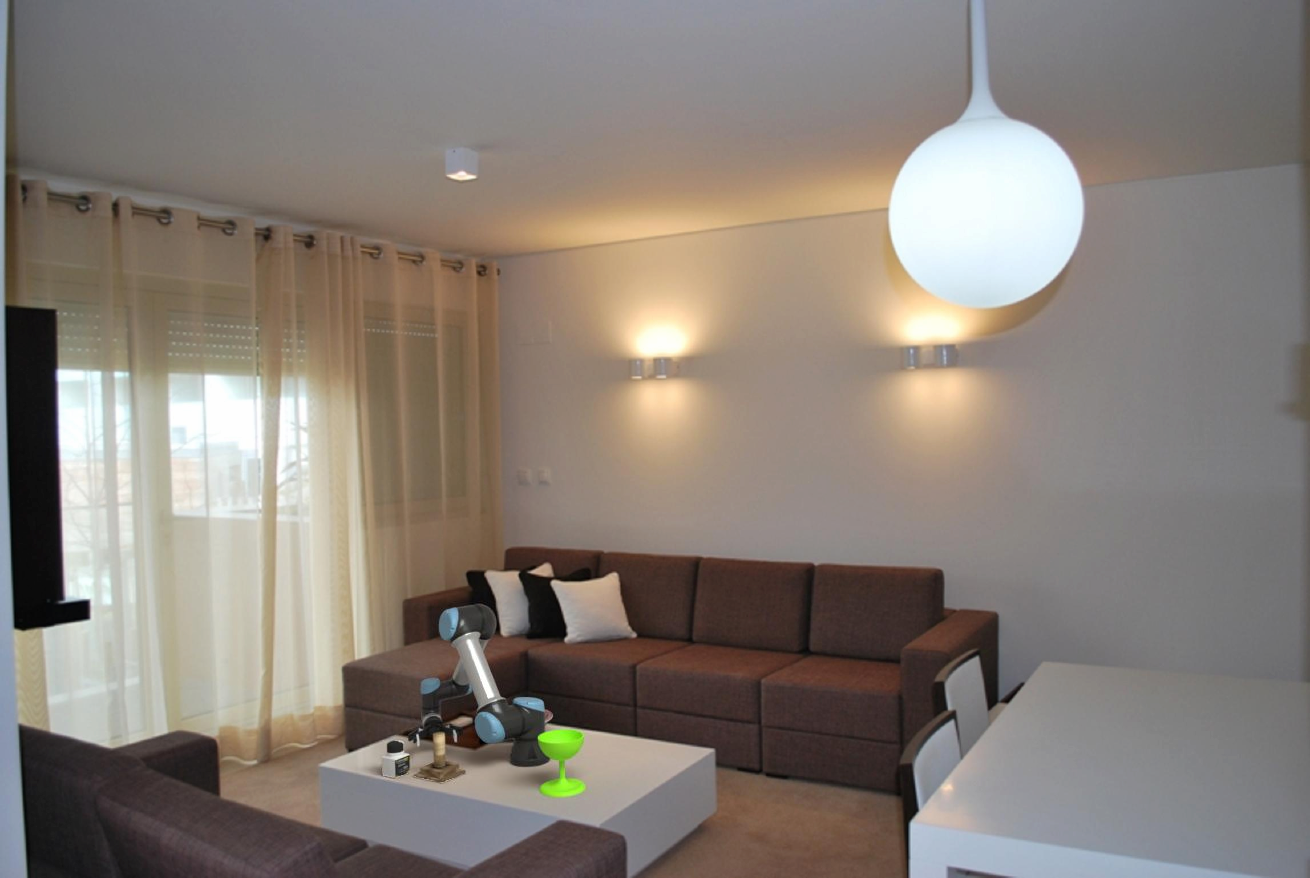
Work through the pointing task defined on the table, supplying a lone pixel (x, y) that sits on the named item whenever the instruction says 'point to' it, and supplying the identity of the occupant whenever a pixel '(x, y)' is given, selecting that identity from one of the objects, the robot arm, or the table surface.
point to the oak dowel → (439, 750)
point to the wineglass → (561, 760)
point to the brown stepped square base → (440, 772)
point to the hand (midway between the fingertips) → (437, 740)
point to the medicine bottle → (395, 760)
